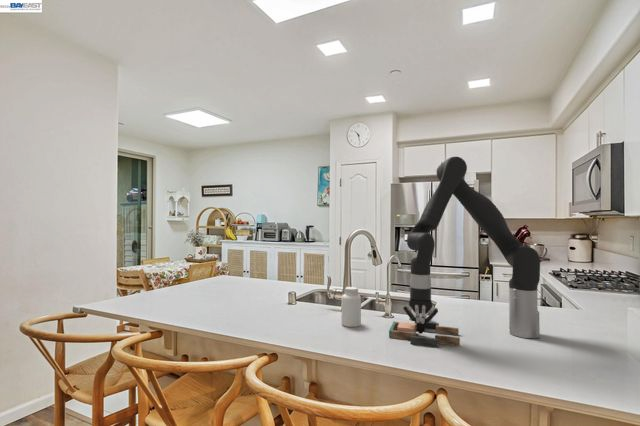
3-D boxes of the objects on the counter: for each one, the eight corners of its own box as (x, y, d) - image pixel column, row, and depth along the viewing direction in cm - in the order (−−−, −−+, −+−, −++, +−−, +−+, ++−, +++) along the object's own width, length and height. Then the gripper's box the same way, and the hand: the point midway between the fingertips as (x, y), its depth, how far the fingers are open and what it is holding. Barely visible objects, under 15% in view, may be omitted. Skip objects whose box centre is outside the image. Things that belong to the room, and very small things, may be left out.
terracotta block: (415, 333, 131) (415, 323, 131) (414, 339, 125) (414, 328, 125) (399, 332, 133) (399, 321, 133) (397, 338, 127) (397, 327, 127)
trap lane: (458, 331, 133) (457, 324, 133) (460, 350, 114) (460, 342, 114) (394, 324, 141) (394, 318, 141) (387, 341, 122) (387, 334, 122)
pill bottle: (364, 324, 142) (364, 287, 142) (353, 328, 136) (352, 290, 136) (349, 320, 147) (349, 285, 147) (337, 324, 141) (337, 288, 142)
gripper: (439, 285, 129) (439, 331, 129) (403, 283, 134) (403, 327, 133) (439, 289, 122) (439, 338, 122) (401, 286, 127) (401, 333, 126)
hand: (420, 332), depth 128 cm, fingers closed
